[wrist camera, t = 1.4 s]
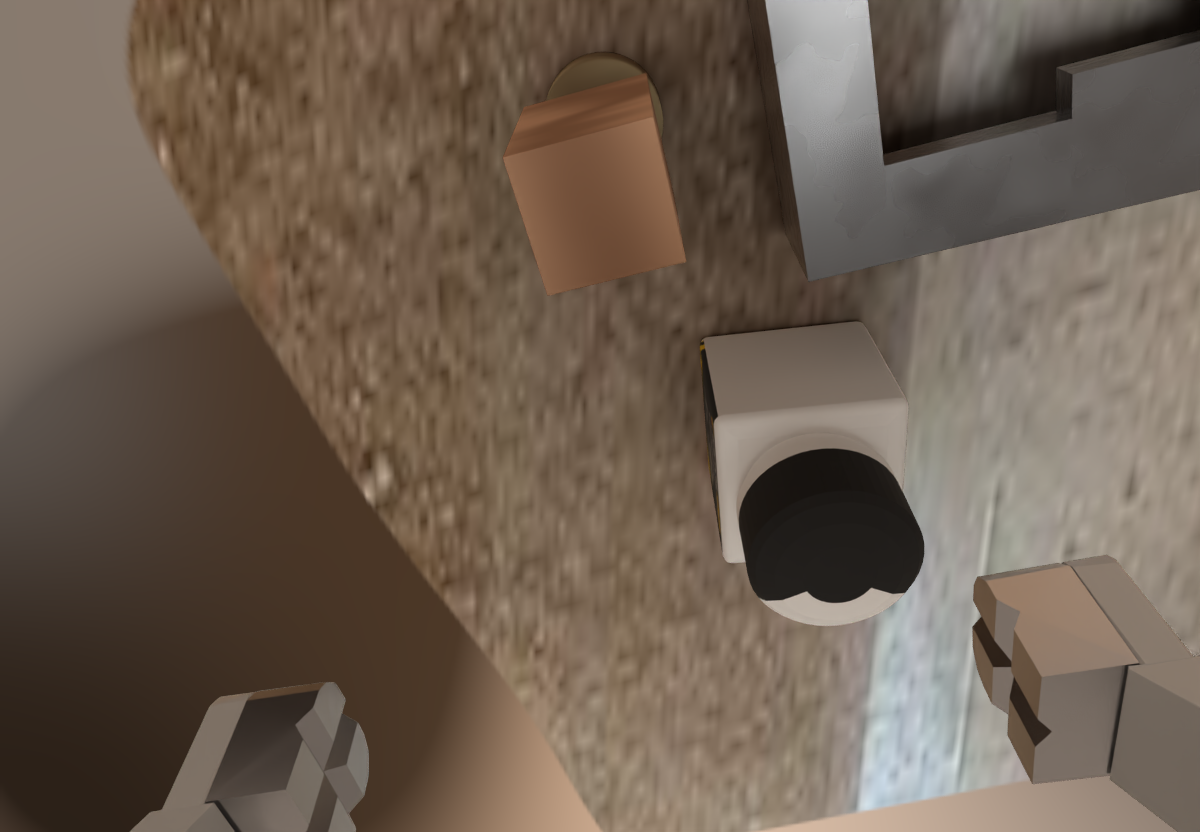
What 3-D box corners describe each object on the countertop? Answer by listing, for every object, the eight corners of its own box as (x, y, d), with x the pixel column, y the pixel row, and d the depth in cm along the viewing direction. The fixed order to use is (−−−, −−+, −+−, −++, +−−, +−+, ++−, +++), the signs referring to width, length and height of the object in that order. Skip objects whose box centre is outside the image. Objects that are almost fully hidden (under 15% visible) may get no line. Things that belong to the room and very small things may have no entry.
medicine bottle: (698, 335, 38) (728, 501, 28) (863, 317, 37) (957, 480, 27) (708, 468, 42) (738, 658, 31) (859, 453, 41) (940, 642, 31)
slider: (645, 37, 32) (658, 106, 22) (672, 154, 34) (695, 266, 24) (530, 70, 32) (493, 152, 22) (563, 183, 34) (542, 303, 25)
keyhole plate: (1387, -335, 26) (1539, -378, 22) (1318, 103, 32) (1425, 136, 28) (726, -129, 29) (744, -132, 25) (785, 234, 35) (808, 282, 31)
